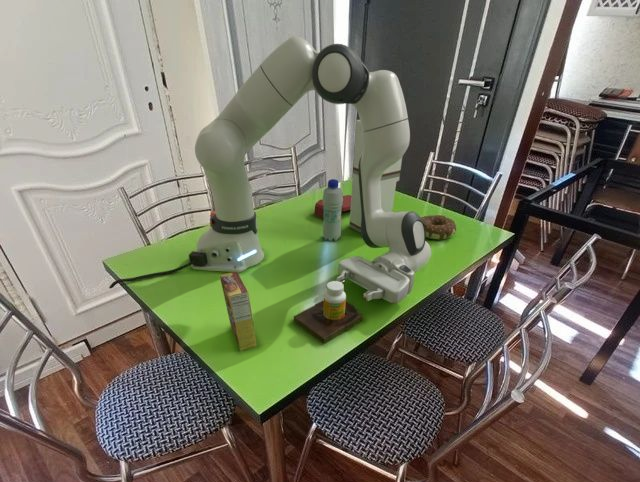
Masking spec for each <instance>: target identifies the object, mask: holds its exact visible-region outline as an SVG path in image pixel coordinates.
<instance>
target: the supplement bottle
mask: <svg viewBox="0 0 640 482" xmlns="http://www.w3.org/2000/svg"><path fill="white" fill-rule="evenodd" d="M344 287H345V286H344V284H342V283H341V282H338V281H336V280H332V281H329V282H327V284H326V290H325V292H323V301H324V302H323V316H324V317H325V318H327V319H330V320H339V319H342V318H344V317H345V304H346V302H347V294H346V292H345V291H344V290H345V289H344Z"/></svg>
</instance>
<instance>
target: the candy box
mask: <svg viewBox="0 0 640 482" xmlns="http://www.w3.org/2000/svg"><path fill="white" fill-rule="evenodd" d="M219 279H220V284H221V288H222V292H223V297H224V301H225V306H226V310H227V315H228V319H229V325H230V328H231V331H232V334H233V336H234V338H235V340H236V343H237V346H238V349H239V351H241V352H243V351H245V350H249V349H252V348H256V347H257V346H258V345H257V339H256V332H255V325H254V320H253V319H254V318H253V313H252V312H253V311H252V307H251V301H250V300H251V299H250V295H249V291H248V289H247V287H246V285H245V284H244V282H243V281H242V278H241V276H240V275H239V272H226V273H224V274H220V275H219Z"/></svg>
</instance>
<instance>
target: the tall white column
mask: <svg viewBox="0 0 640 482" xmlns="http://www.w3.org/2000/svg"><path fill="white" fill-rule="evenodd" d="M362 132H364V131H362V128H361V122H360V119H356V120H355V129H354V149H353V164H352V181H351V194H350V195H351V210H349V211H350V212H349V228H351V229H353V230H354V231H356V232H358V233H360V234H361V218H362V216H361V201H360V189H359V173H358V168H359V160H360V158H361V156H362V154H363V133H362ZM402 162H403V156H402V157H401V158H400V159H399V160H398V161H397V162H396V163H395V164H393V165H392V166H390V167H389V168H388V169H386V170H385V172H384V173H383V174H382V176H381V180H380V191H381V208H382V210H383V211H384V212H394V211H393V210H394V202H395V197H396V196H395V195H396V189H397V188H396V187H397V182H399V181H400V178H401V177H400V176H401V169H402V164H403V163H402Z"/></svg>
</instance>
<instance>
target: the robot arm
mask: <svg viewBox="0 0 640 482" xmlns="http://www.w3.org/2000/svg"><path fill="white" fill-rule="evenodd" d="M311 91H312V92H313V91H315V92H316V93H317V94H318V96H319V97H320V98H321V99H323V100H324V101H326V102H328V103H330V104H332V105H345V104H348V105H352V106H353V107H354V108H355V110H356V111H357V114H358V117H359V120H360V122H361V128H362V131H364V132H362V133H363V154H362V156H361V158H360V160H359V168H358V173H359V189H360V201H361V216H362V218H361V233H360V235H361V239H362V240H363V242H364V244H365V245H366V246H367V247H369V248H371V249H381V248H389V250H388V251H387V252H385V253H382V254H380V255H379V256H377V257H375V258H373V260H372V261H371V260H369V259H367V258H365V257H362V256H359V255H356V256H351V257H348V258H344V259H343V260H340V261H339V262H338V269H337V271H338V276H337V277H336V278H335V279H336V280H335V281H338V282H341V283H342V284H343V285H344V284H346V281H347V280H348V281H351V282H352V283H354V284H356V285H358V286H359V287H362V288H363V289H365V290H367V291H366V292H363V297H362V298H363V299H364V300H365V301H367V302H370V301H371V300H381V299H383V300H385V301H387V302H388V303H390V304H399V303H401V302H402V301H403V300H405V299H406V298H407V297H408V295H410V294H411V293H412V291H413V287H414V281H415V274H416V273H418V272H420V271H421V270H422V269H424V268H425V266H426V265H428V262H429V261H430V260H431V257H432V248H431V246H430V244H429V243H428V242H427V241H426V231H425V226H424V223H423V221H422V219H421V217H422V216H420V214H418V213H417V212H416V211H404V210H403V211H392V212H384V211H383V210H382V208H381V191H380V180H381V176H382V174H383V173H384V172H385V170H386V169H388V168H389V167H390V166H392V165H393V164H395V163H396V162H397V161H398V160H399V159H400V158H401V157H402V158H403V157H404V155H405V153H406V152H407V150H408V148H409V146H410V142H411V141H410V140H411V130H410V129H411V128H410V122H409V116H408V115H409V114H408V110H407V104H406V100H405V96H404V92H403V88H402V86H401V83H400V80H399V77H398V76H397V74H396V73H395V72H394V71H391V70H388V69H380V70H375V71H370V70H369V69H368V67H367V66H366V65H365V64H364V63H363V61H362V60H361V57H360V56H359V55H358V53H356V51H355V50H353V49H352V48H351V47H349V46H348V45H346V44H343V43H331V44H329V45H327V46H325V47H324V48H322V49H321V50H320V51H317V50H316V49H315V48H314V47H313V45H312V44H311V43H310V42H309V41H308V40H307V39H305V38H304V37H301V36H298V35H294V36H291V37H289V38H288V39H286V40H285V41H284V42H282V43H281V44H280V45H279V46H277V47H276V48H275V49H274V50H273V51H271V53H270V54H269V55H267V56H266V58H265V59H263V61H262V62H261V63H260V65H259V66H258V67H257V68H256V69H255V70H254V71H253V73H252V74H251V75H250V76H249V77H248V78H247V79H246V81H245V82H244V83H243V84H242V85H241V87H240V88H239V89H238V90H237V92H235V94H234V96H233V97H232V98H231V100H230V101H229V102H228V104H227V105H225V107H224V108H223V110H222V111H221V112H220V113H219V114H218V116H217V117H216V118H214V119H213V120H212V121H211V122H210V123H209V124H207V125H205V126H203V128H202V129H201V130H200V132H199V133H198V135H197V137H196V141H195V144H194V154H195V158H196V160H197V162H198V163H199V165H200V167H202V169H203V172H204V174H205V176H206V179H207V182H208V184H209V187H210V192H211V196H212V201H213V205H214V206H213V207H214V210H212V211H211V212H210V215H209V217H210V218H209V226H210V228H208V229H207V230H206V231H205V232H204V233H202V234H201V235H200V236H199V238H198V240H197V243H196V247H195V249H194V250H193V251H191V252H190V253H189V254H188V259H189V262H187V263H186V264H183V265H181V266H179V267H176V268H174V269H170V270H165V271H159V272H158V271H157V272H153V273H148V274H143V275H139V276H134V277H129V278H119V279H117V280H114V281H113V282H112V283H111V284H110V285H109V286H108V288H109V289H114V287H116V285H118V284H120V283H128V282H135V281H139V280H142V279H147V278H152V277H159V276H164V275H169V274H174V273H176V272H179V271H181V270H184V269H186V268H188V267H191V268H192V270H196V271H210V272H223V273H232V272H238V273H242V272H244V271H245V270H247V269H248V268H251V267H254V266H256V265H258V264H260V263H261V262H262V261H263V260H264V258H265V253H264V251H263V248H262V246H261V243H260V239H259V235H258V230H259V227H258V217H257V214H256V211H255V208H254V197H253V188H252V185H251V182H250V180H249V177H248V173H247V170H246V169H247V168H246V164H245V156H246V155H247V154H248V153H249V151H250V150H251V149H252V148H253V147H254V146H255V145H256V144H257V143H258V142H259V141H260V140H261V139H263V137H265V135H267V133H268V132H270V131H271V130H272V129H273V128H274V127H275V126H276V125H277V124H278V122H279V121H280V120H282V119H283V117H285V116H286V114H288V112H289V111H290V110H291V109H292V108H293V107H294V106H295V105H296V104H297V103H298V102H299V101H300V100H301V99H302V98H303V97H304V96H305V95H306V94H307V93H309V92H311Z"/></svg>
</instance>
